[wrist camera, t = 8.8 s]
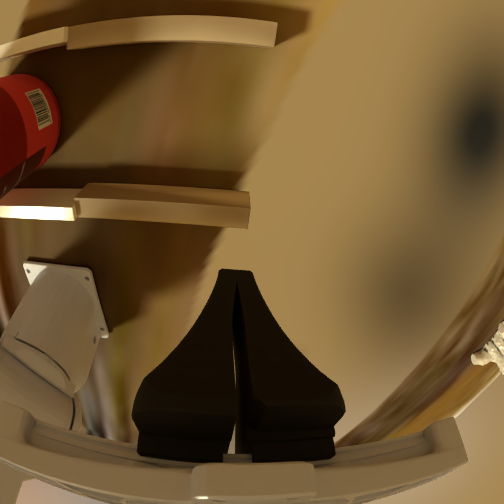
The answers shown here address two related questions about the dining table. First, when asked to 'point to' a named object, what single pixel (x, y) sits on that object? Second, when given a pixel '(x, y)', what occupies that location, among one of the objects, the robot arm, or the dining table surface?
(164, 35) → the rail channel
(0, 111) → the canned food
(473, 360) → the white creature statuette
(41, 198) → the open frame
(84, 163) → the dining table surface
